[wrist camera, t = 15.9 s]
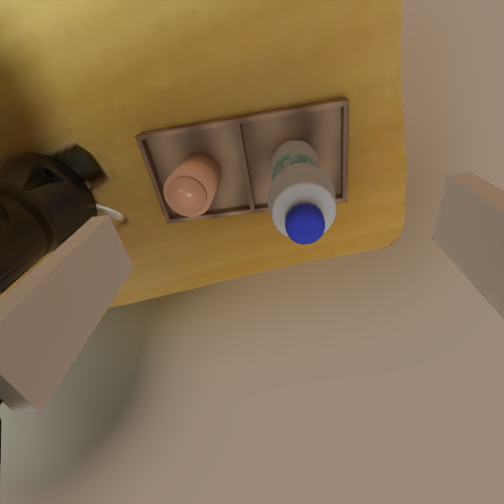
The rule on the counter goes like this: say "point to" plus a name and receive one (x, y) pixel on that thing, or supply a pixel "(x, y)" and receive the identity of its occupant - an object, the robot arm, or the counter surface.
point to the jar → (193, 185)
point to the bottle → (300, 193)
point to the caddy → (249, 153)
